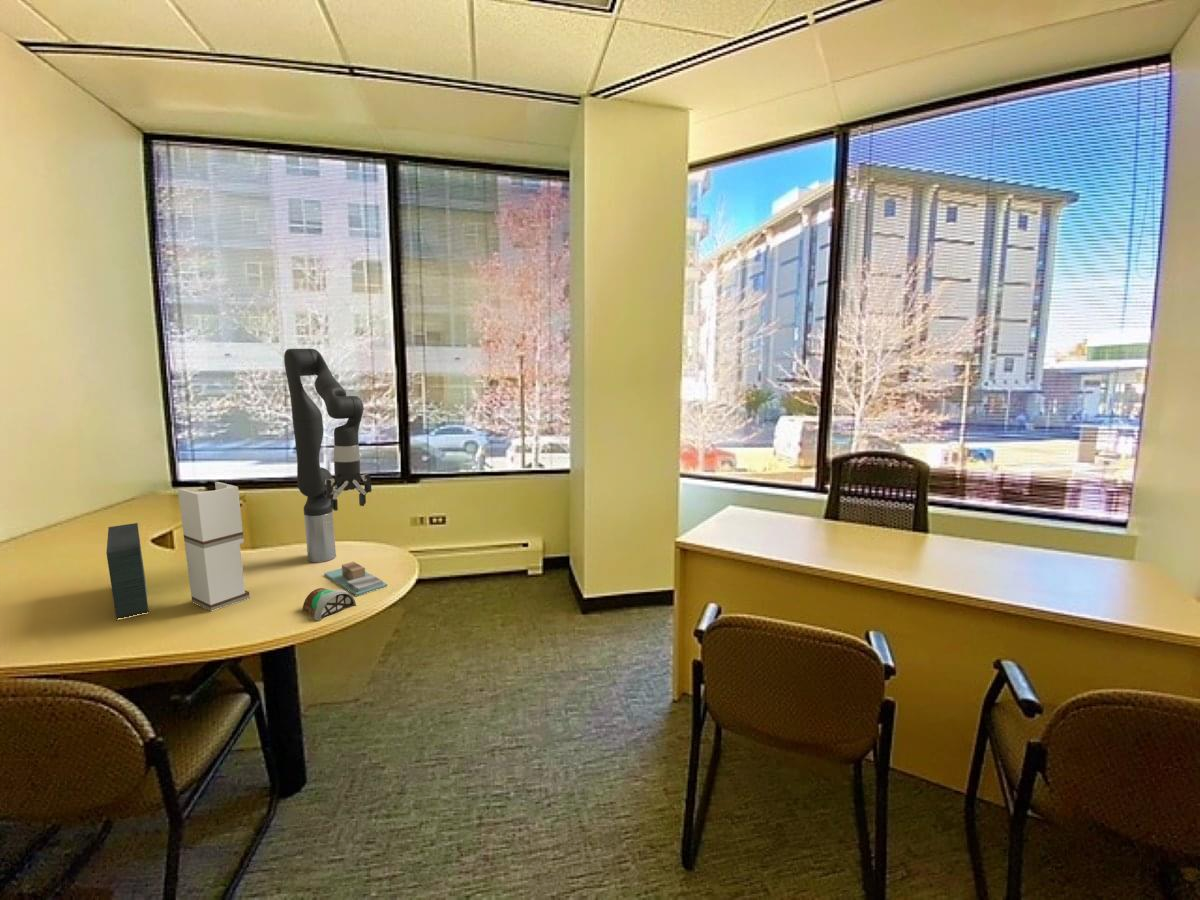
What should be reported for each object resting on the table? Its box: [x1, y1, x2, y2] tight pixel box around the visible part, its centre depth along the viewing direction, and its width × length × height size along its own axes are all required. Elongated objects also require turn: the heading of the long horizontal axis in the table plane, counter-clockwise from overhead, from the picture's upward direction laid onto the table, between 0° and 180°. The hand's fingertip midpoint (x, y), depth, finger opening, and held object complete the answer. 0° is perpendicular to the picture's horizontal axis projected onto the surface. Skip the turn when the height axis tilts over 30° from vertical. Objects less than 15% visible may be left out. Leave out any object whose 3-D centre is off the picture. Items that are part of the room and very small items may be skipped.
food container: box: [302, 587, 357, 621], centre depth 162 cm, size 12×6×10 cm
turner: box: [341, 561, 384, 592], centre depth 180 cm, size 16×8×4 cm, turn 48°
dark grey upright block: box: [105, 522, 149, 619], centre depth 166 cm, size 29×7×20 cm, turn 40°
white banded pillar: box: [177, 481, 251, 612], centre depth 165 cm, size 11×11×35 cm
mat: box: [324, 567, 388, 597], centre depth 182 cm, size 24×10×1 cm, turn 48°
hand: (348, 507), depth 179 cm, fingers open, 8 cm apart
